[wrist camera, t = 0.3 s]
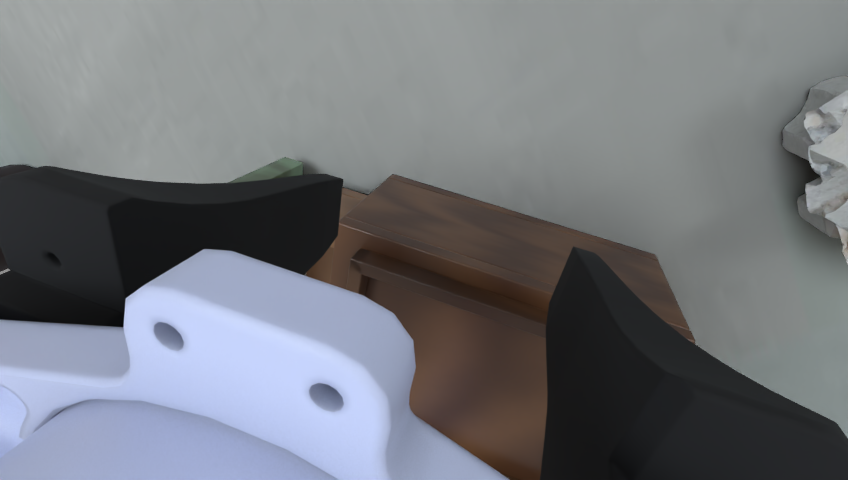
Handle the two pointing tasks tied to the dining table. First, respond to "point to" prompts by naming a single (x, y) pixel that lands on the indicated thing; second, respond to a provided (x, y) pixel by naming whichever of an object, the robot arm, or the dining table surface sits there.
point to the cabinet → (472, 334)
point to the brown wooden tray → (444, 292)
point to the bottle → (3, 171)
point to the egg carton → (824, 156)
